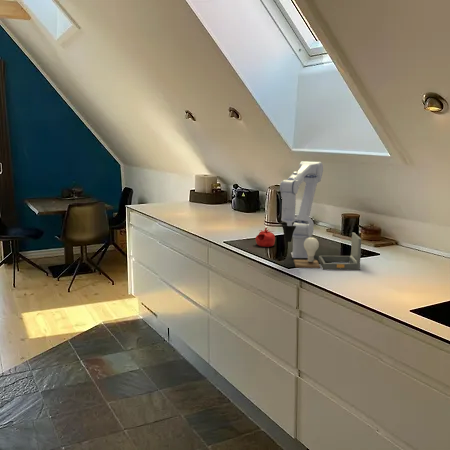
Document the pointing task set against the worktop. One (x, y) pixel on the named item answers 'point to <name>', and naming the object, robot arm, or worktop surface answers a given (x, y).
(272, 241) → the pomegranate
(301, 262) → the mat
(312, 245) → the lightbulb
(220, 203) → the worktop surface
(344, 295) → the worktop surface
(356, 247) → the case
